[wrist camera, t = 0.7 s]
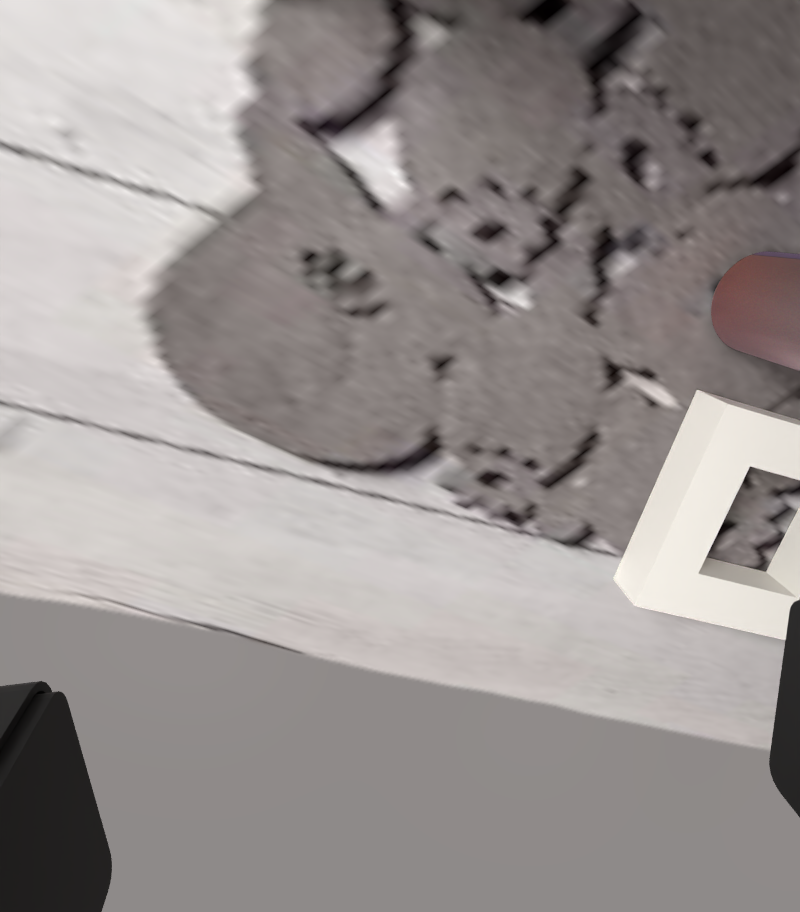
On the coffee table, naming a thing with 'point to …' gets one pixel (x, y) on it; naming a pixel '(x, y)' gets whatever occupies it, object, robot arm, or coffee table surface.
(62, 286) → the coffee table surface
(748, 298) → the beverage can
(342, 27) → the coffee table surface
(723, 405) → the can holder
